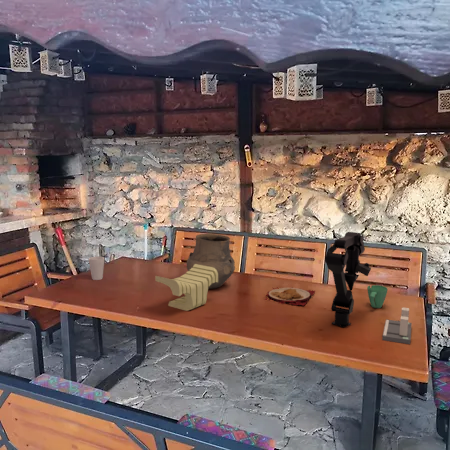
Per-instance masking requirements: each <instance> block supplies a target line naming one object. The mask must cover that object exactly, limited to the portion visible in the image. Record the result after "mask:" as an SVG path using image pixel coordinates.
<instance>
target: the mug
mask: <svg viewBox="0 0 450 450" xmlns="http://www.w3.org/2000/svg"><path fill="white" fill-rule="evenodd" d="M388 289H389V288H388V287H386V286H383V285H379V284H378V285H377V284H372V285H371V286H370V285H368V286H367V297H368V299H369V300H368V301H369V303H370V307H372V308H374V309H382V306H383V305H384V303H385V300H386V299H387V298H386V297H387V293H388Z"/></svg>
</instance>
